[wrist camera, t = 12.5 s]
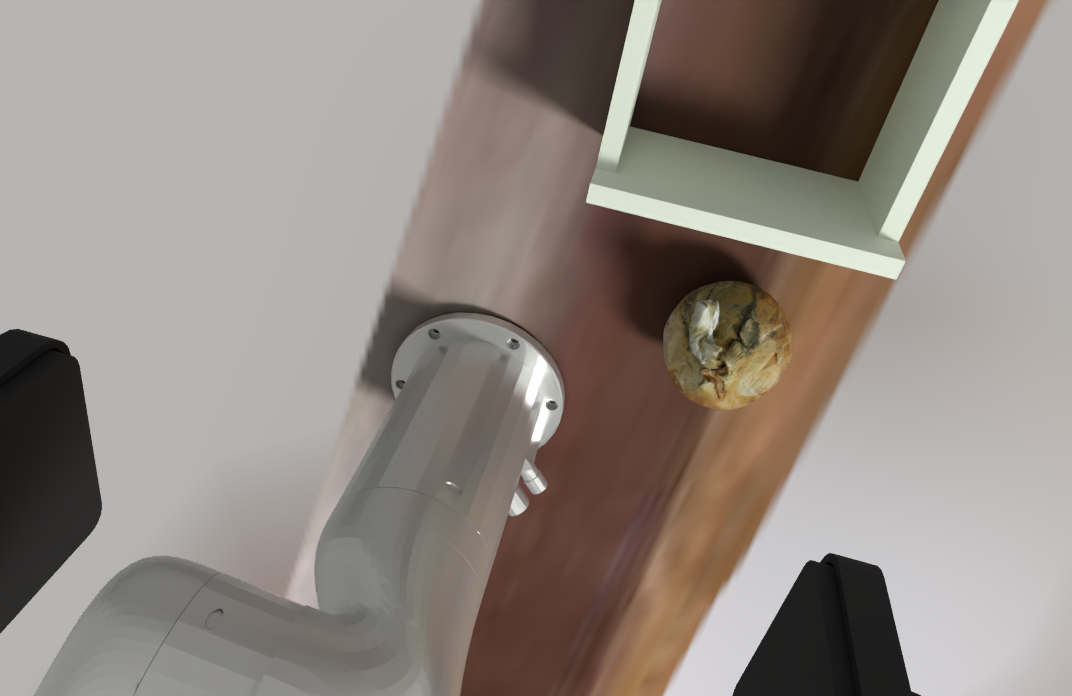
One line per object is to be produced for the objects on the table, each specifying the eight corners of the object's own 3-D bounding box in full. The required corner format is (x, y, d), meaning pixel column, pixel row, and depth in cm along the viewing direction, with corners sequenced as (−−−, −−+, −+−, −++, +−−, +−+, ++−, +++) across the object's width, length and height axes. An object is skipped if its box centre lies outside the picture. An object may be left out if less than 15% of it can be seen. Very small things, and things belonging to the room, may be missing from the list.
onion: (638, 329, 52) (625, 403, 46) (710, 237, 48) (707, 305, 41) (734, 385, 53) (735, 465, 47) (813, 300, 49) (827, 376, 42)
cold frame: (868, 202, 45) (896, 279, 37) (608, 138, 45) (585, 202, 38) (1006, -98, 36) (1078, -74, 29) (681, -169, 37) (670, -163, 29)
